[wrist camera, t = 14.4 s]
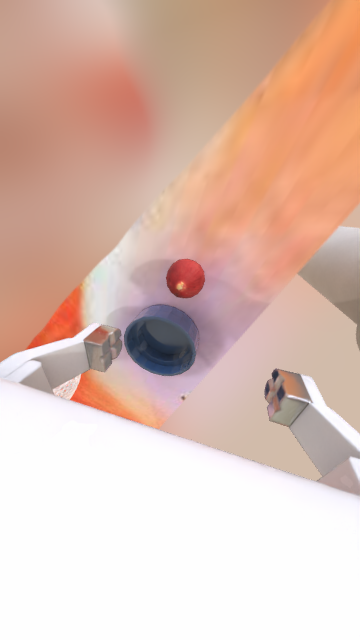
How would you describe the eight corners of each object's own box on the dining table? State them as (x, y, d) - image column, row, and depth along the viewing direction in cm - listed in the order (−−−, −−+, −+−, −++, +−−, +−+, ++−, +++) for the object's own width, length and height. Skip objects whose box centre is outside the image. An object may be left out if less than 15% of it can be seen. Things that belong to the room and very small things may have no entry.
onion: (192, 294, 32) (183, 316, 26) (167, 275, 32) (151, 291, 25) (213, 269, 29) (210, 285, 23) (186, 247, 29) (173, 257, 22)
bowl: (205, 312, 34) (201, 326, 29) (193, 365, 41) (189, 383, 37) (134, 297, 35) (122, 308, 31) (135, 351, 43) (125, 366, 39)
